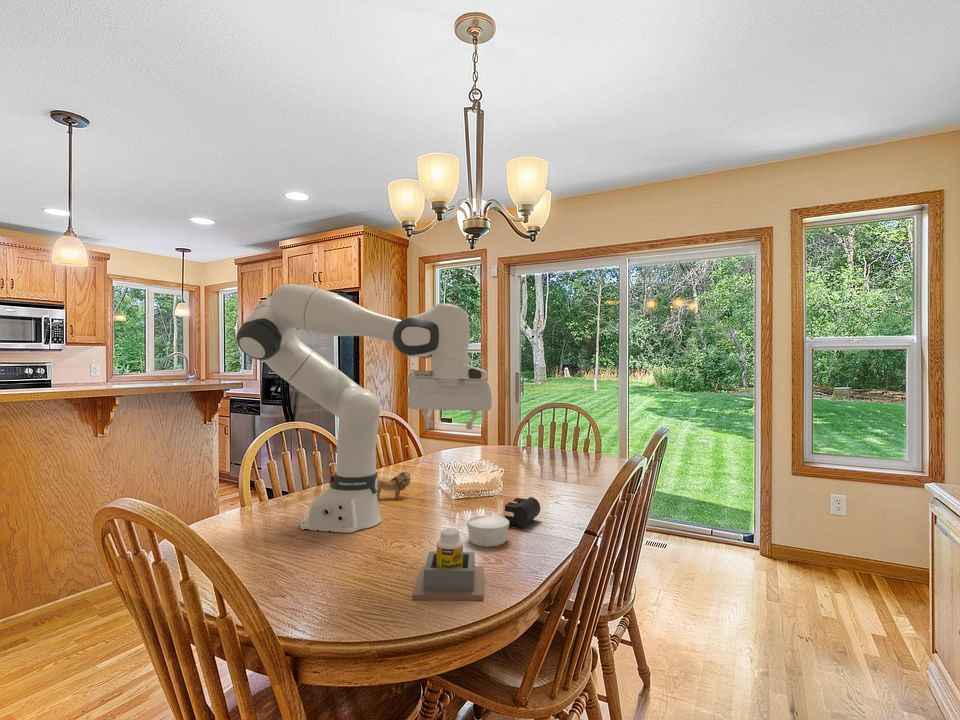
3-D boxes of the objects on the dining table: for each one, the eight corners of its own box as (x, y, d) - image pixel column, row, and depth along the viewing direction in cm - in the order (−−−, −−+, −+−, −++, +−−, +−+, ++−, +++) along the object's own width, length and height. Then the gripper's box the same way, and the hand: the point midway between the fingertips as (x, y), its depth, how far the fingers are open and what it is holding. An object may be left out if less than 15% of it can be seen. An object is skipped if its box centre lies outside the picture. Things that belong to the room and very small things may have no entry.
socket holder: (412, 599, 103) (412, 574, 102) (421, 570, 117) (421, 548, 116) (483, 600, 102) (483, 575, 102) (483, 570, 116) (483, 548, 116)
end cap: (527, 531, 143) (527, 506, 143) (504, 527, 146) (504, 503, 146) (540, 520, 152) (540, 497, 152) (518, 517, 155) (518, 494, 155)
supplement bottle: (438, 586, 106) (438, 536, 106) (434, 575, 111) (434, 527, 111) (465, 584, 107) (465, 534, 107) (460, 573, 113) (460, 526, 113)
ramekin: (480, 531, 143) (480, 512, 143) (516, 538, 137) (516, 518, 137) (458, 543, 133) (458, 523, 133) (496, 552, 128) (496, 530, 128)
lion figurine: (409, 495, 179) (409, 469, 179) (411, 499, 174) (411, 472, 174) (365, 498, 175) (366, 471, 175) (366, 502, 170) (366, 475, 170)
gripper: (405, 370, 122) (404, 429, 122) (492, 372, 121) (491, 431, 122) (409, 370, 128) (408, 426, 128) (492, 371, 128) (491, 427, 128)
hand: (449, 428), depth 125 cm, fingers open, 8 cm apart
